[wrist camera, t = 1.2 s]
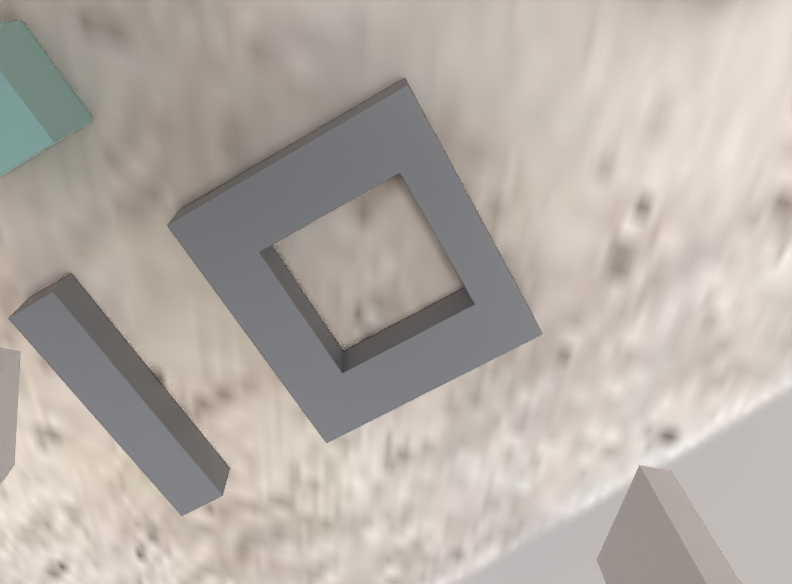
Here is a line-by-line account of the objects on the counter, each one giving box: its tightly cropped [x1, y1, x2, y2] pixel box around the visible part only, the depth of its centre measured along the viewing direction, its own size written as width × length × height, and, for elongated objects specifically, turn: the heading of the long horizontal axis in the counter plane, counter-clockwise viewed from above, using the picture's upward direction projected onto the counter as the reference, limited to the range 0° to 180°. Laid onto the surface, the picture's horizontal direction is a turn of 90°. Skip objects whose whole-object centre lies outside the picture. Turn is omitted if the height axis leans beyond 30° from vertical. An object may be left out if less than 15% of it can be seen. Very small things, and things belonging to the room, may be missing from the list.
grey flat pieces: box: [8, 78, 542, 516], centre depth 37 cm, size 14×22×2 cm, turn 119°
